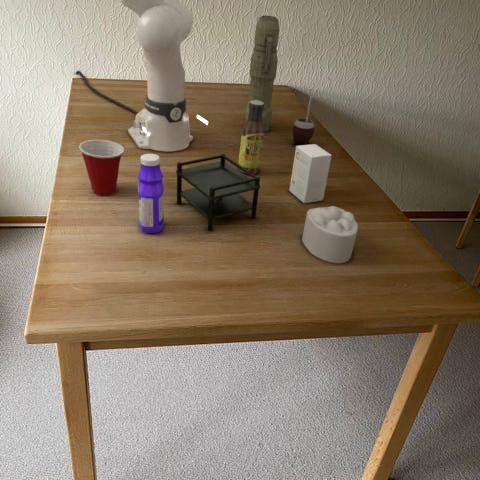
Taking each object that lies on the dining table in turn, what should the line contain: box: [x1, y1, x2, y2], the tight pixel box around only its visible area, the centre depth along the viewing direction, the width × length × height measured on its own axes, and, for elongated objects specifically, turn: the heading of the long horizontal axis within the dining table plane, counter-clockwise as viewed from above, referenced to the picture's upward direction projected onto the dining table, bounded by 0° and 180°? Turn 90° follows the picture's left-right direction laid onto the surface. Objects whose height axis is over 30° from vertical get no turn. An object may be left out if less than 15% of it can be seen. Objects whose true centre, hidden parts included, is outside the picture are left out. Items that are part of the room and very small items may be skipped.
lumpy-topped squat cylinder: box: [301, 205, 359, 264], centre depth 117 cm, size 10×13×9 cm
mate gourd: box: [292, 93, 315, 147], centre depth 167 cm, size 8×8×15 cm
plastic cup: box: [78, 139, 125, 196], centre depth 130 cm, size 11×11×12 cm
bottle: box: [137, 153, 165, 234], centre depth 115 cm, size 7×6×17 cm
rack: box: [175, 153, 261, 232], centre depth 126 cm, size 16×14×11 cm
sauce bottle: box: [237, 100, 265, 175], centre depth 145 cm, size 6×6×20 cm
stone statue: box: [244, 15, 280, 133], centre depth 169 cm, size 9×12×35 cm
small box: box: [288, 143, 333, 204], centre depth 137 cm, size 8×6×13 cm
